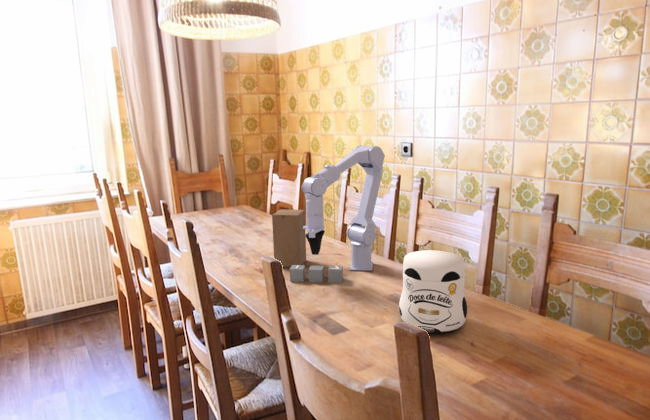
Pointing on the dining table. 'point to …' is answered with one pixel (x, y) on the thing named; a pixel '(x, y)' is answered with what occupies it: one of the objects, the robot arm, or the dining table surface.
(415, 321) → the milk container
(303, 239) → the wooden block
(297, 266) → the block marked 1
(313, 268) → the plain block
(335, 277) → the block marked 7
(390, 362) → the dining table surface
